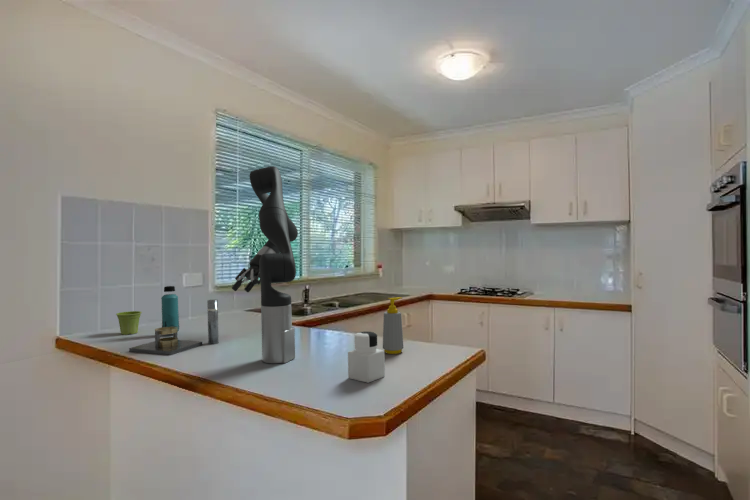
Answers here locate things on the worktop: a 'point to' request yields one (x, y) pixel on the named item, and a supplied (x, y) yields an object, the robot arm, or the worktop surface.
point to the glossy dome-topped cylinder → (212, 321)
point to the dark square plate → (166, 343)
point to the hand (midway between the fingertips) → (239, 290)
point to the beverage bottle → (170, 308)
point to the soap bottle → (392, 329)
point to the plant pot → (129, 322)
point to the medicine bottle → (366, 358)
